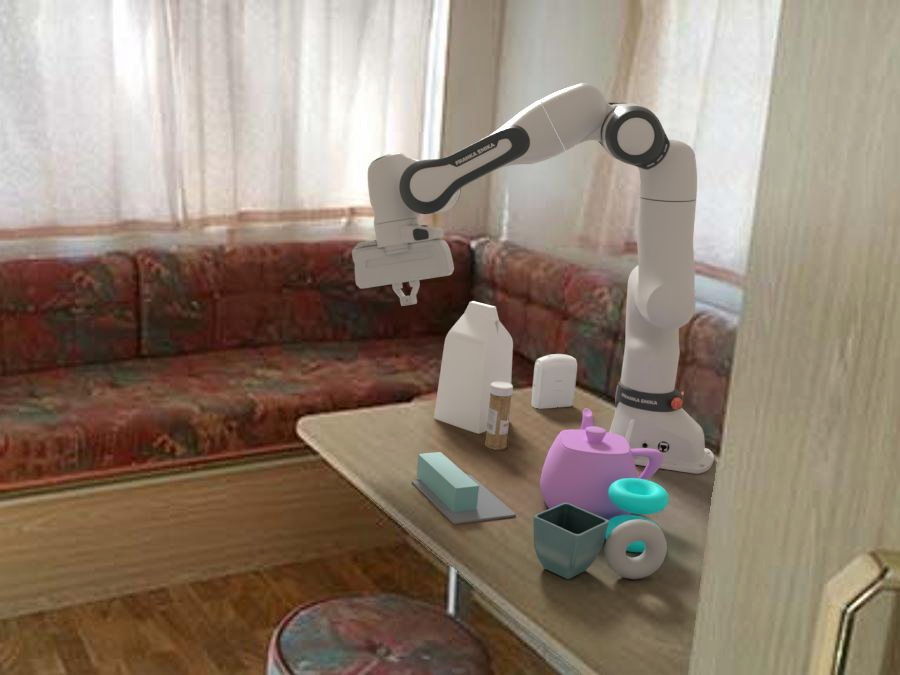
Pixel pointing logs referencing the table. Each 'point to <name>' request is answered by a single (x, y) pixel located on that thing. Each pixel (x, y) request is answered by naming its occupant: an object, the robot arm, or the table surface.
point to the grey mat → (486, 510)
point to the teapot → (591, 468)
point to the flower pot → (568, 539)
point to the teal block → (447, 482)
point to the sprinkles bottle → (498, 415)
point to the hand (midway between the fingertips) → (409, 304)
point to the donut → (628, 535)
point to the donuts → (636, 503)
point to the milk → (473, 367)
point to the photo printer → (554, 381)
